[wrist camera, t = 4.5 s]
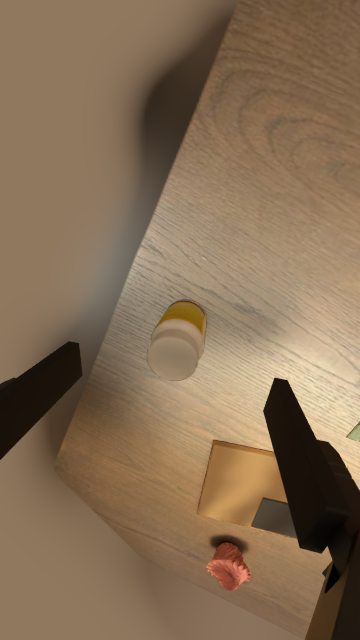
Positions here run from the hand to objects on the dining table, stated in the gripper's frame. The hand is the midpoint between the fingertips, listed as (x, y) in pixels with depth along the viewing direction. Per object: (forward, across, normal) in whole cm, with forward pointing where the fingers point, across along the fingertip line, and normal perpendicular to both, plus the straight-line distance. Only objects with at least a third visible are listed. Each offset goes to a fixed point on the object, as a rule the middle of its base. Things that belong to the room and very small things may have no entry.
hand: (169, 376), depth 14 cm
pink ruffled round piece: (+11, +13, -45) cm, 48 cm away
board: (+10, +15, -27) cm, 32 cm away
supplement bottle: (+10, 0, 0) cm, 11 cm away
